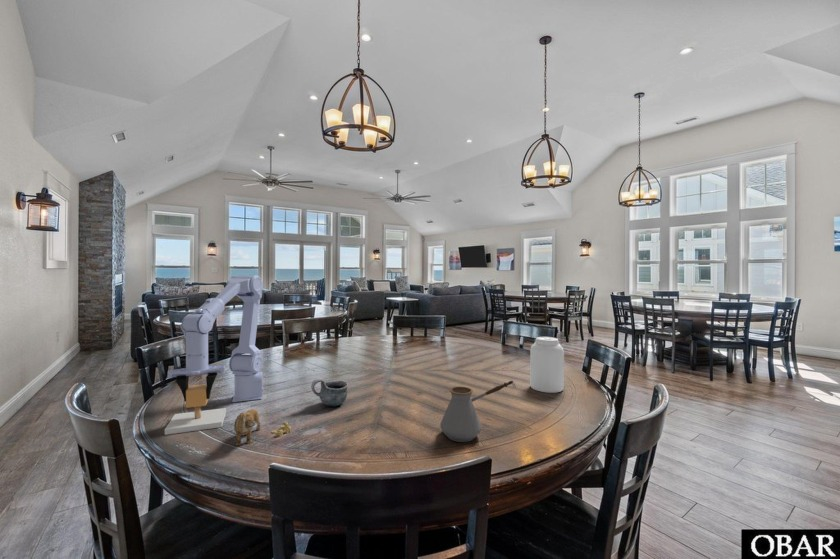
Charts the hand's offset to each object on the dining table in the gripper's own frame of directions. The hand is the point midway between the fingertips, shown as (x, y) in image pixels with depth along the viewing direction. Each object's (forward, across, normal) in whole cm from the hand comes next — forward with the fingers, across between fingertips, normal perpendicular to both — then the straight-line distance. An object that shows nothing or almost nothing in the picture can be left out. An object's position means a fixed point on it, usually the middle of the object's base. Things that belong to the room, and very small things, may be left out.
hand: (197, 399), depth 110 cm
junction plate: (+7, 0, 0) cm, 7 cm away
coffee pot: (+7, +74, -38) cm, 84 cm away
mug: (+7, +39, 0) cm, 40 cm away
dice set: (+8, +23, -16) cm, 29 cm away
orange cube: (+1, 0, 0) cm, 1 cm away
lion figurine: (+7, +15, -17) cm, 24 cm away
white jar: (+7, +121, -12) cm, 122 cm away
